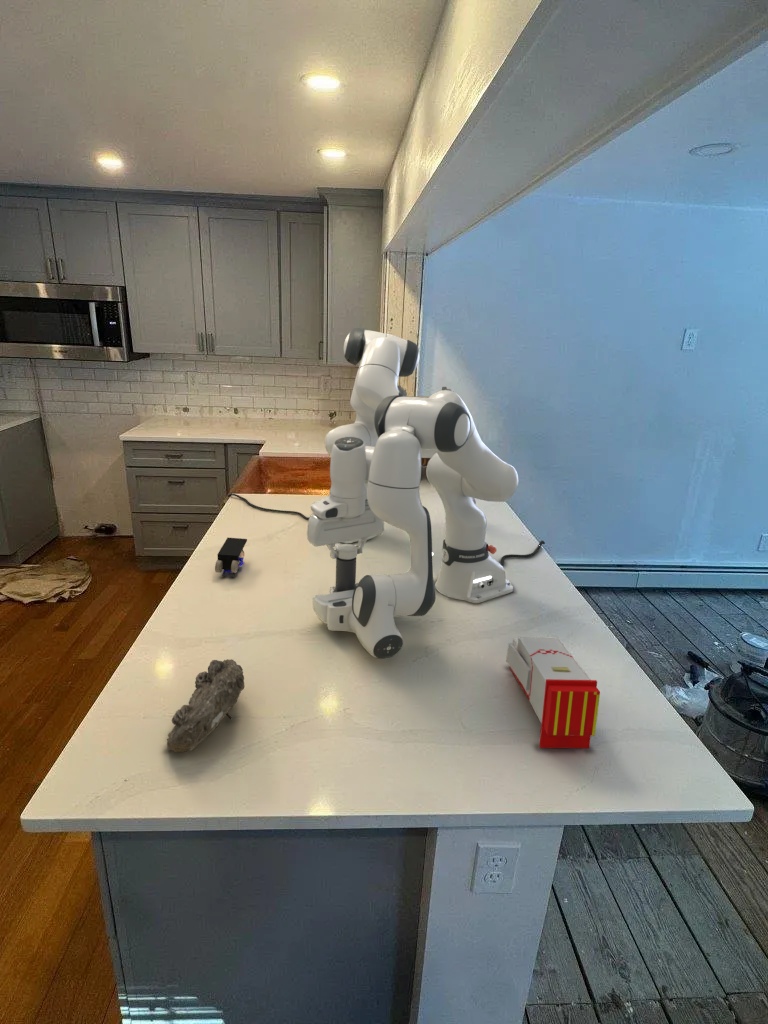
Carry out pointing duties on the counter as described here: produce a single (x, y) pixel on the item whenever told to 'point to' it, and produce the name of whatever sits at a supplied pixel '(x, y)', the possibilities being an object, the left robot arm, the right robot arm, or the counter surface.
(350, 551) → the lid
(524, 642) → the toy
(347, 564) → the dark gray cylinder
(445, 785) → the counter surface
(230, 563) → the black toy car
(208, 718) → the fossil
